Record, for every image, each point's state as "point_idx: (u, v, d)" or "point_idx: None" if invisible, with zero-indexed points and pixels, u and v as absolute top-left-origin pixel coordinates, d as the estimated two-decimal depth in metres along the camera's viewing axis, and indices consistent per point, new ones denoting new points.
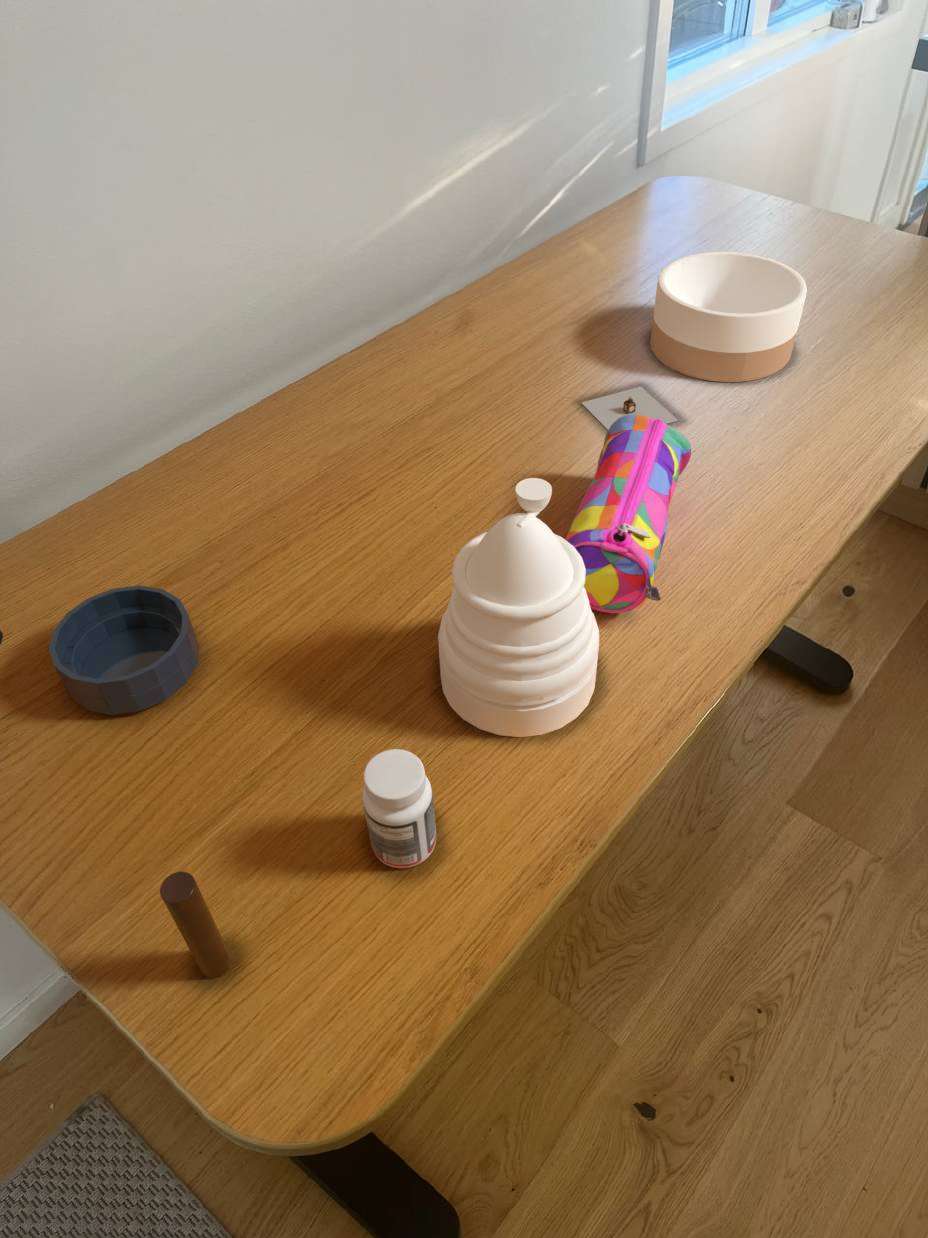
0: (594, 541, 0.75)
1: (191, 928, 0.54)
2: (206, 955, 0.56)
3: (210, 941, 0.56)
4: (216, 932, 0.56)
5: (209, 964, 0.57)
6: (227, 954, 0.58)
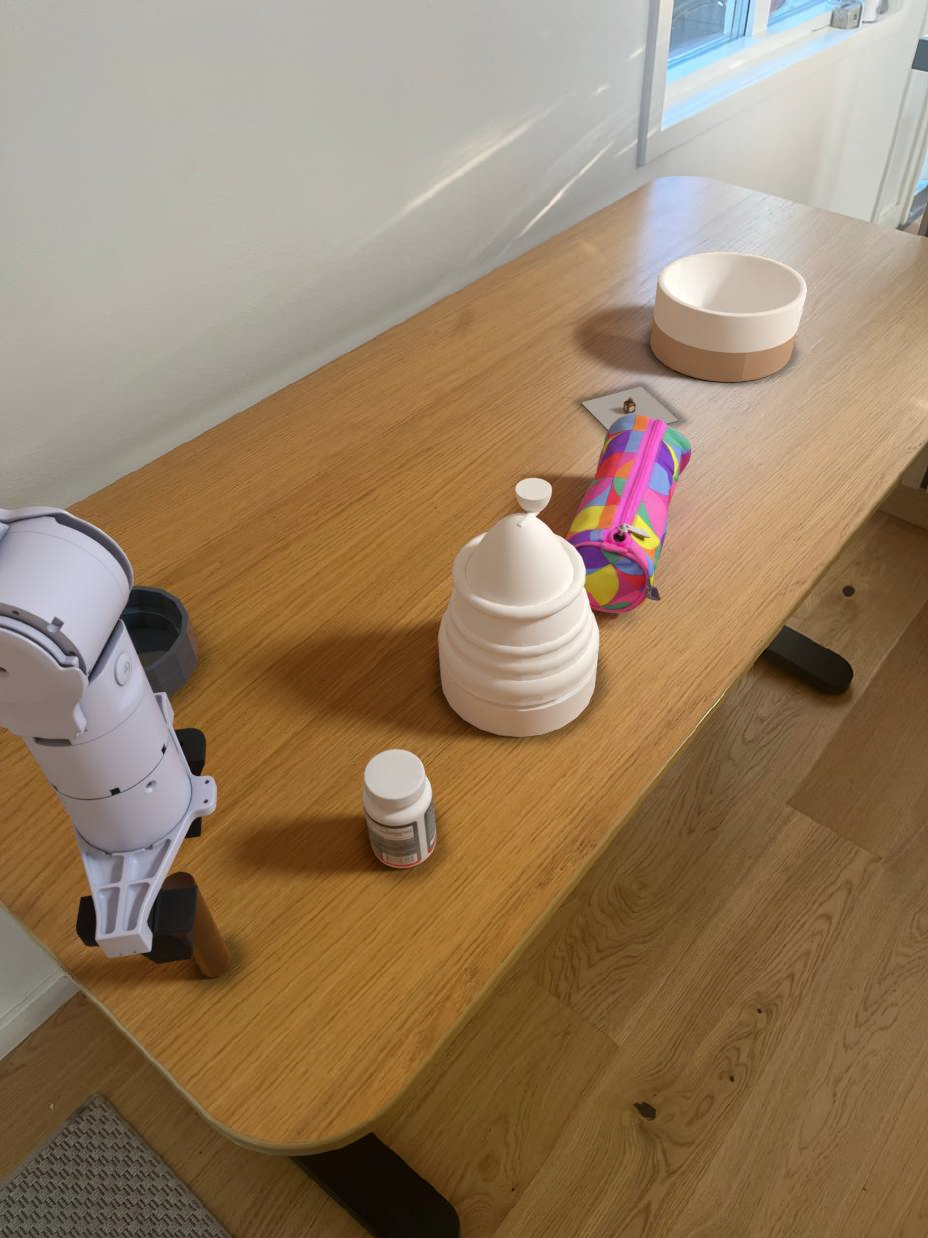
0: (594, 541, 0.75)
1: None
2: (206, 955, 0.56)
3: (210, 941, 0.56)
4: (216, 932, 0.56)
5: (209, 964, 0.57)
6: (227, 954, 0.58)
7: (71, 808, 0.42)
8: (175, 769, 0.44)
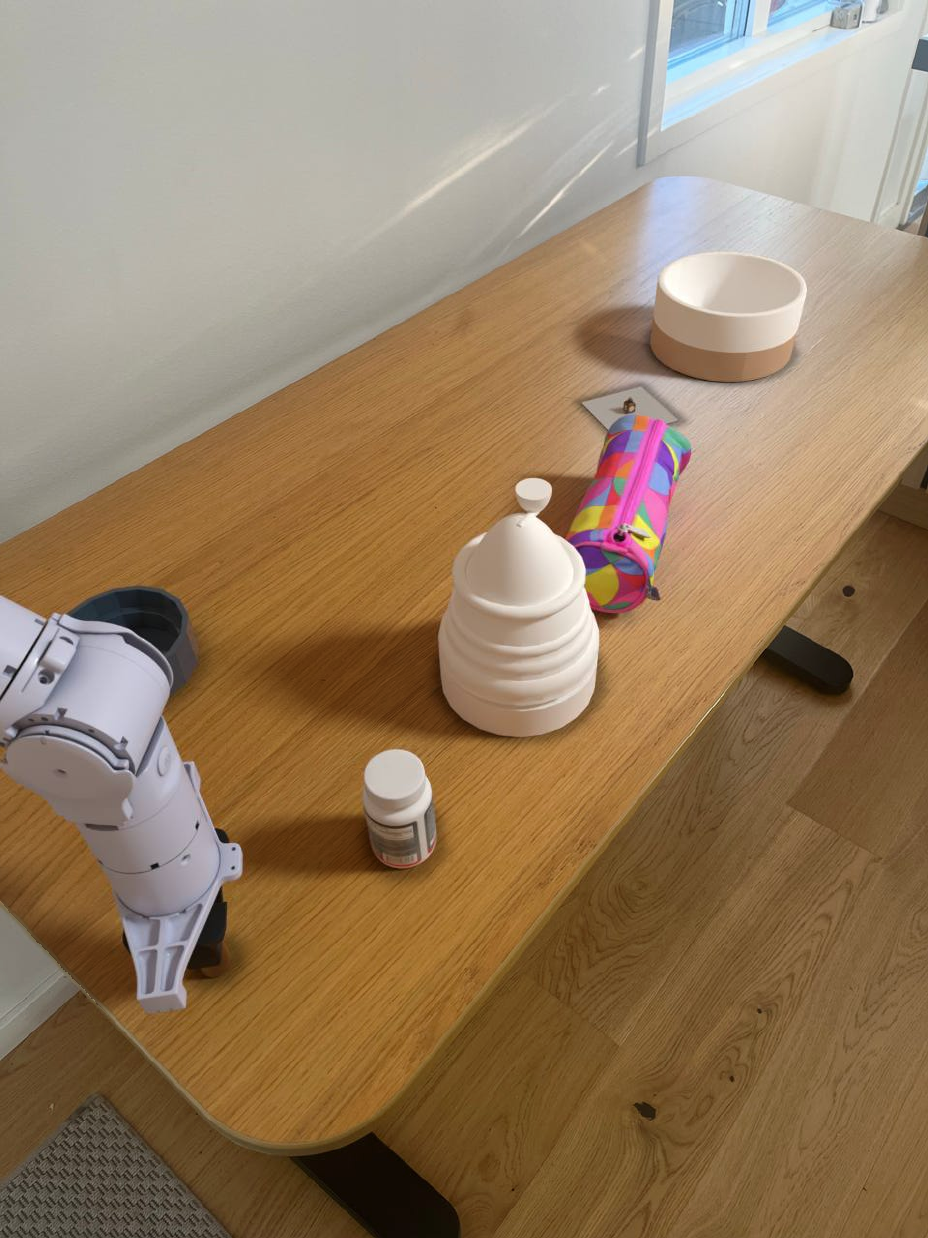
0: (594, 541, 0.75)
1: None
2: None
3: None
4: None
5: None
6: (227, 954, 0.58)
7: (114, 879, 0.47)
8: (206, 842, 0.49)
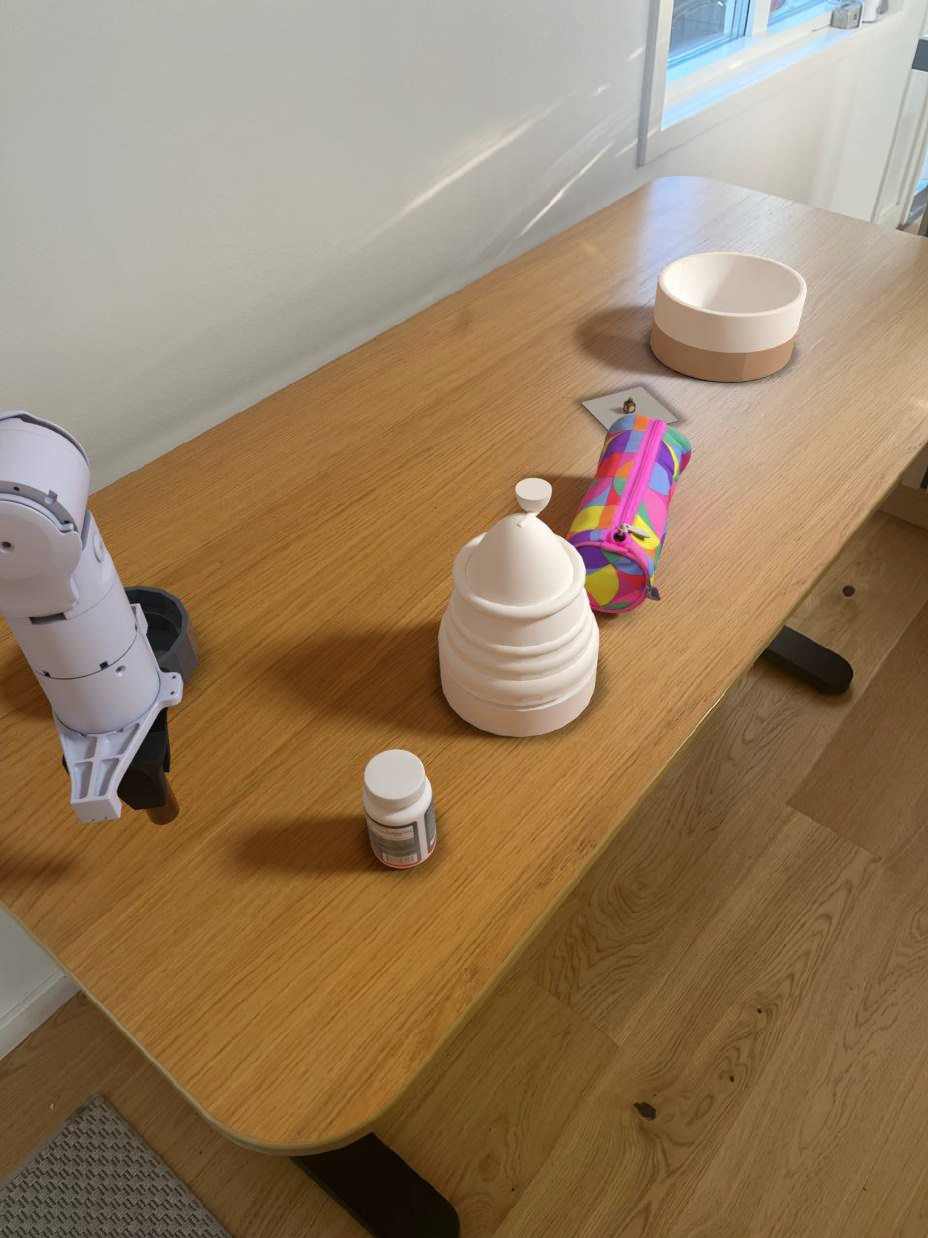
0: (594, 541, 0.75)
1: None
2: None
3: None
4: None
5: (155, 808, 0.58)
6: (175, 801, 0.59)
7: (49, 689, 0.47)
8: (143, 660, 0.49)
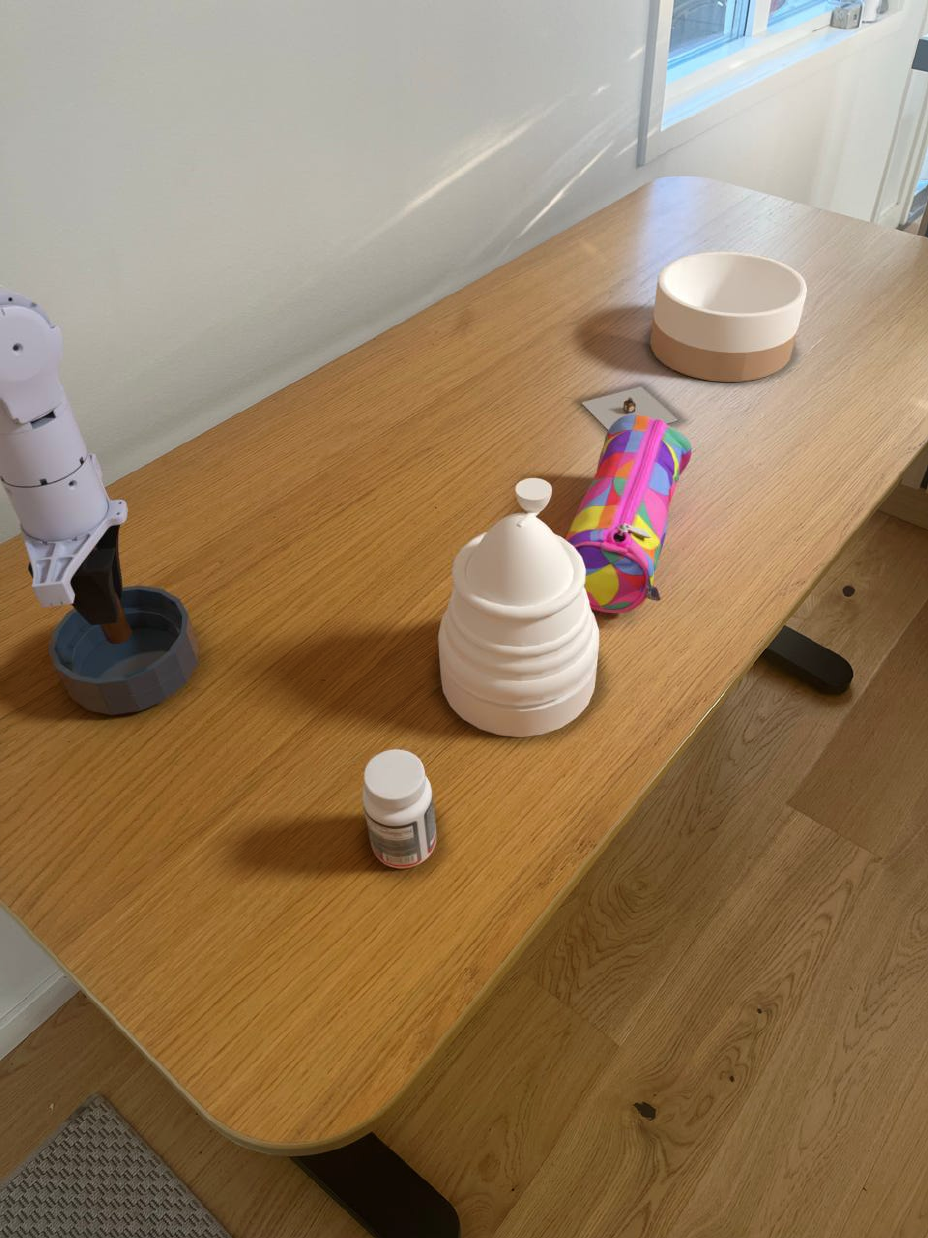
0: (594, 541, 0.75)
1: None
2: None
3: None
4: None
5: (110, 626, 0.69)
6: (127, 624, 0.71)
7: (16, 498, 0.59)
8: (92, 481, 0.61)
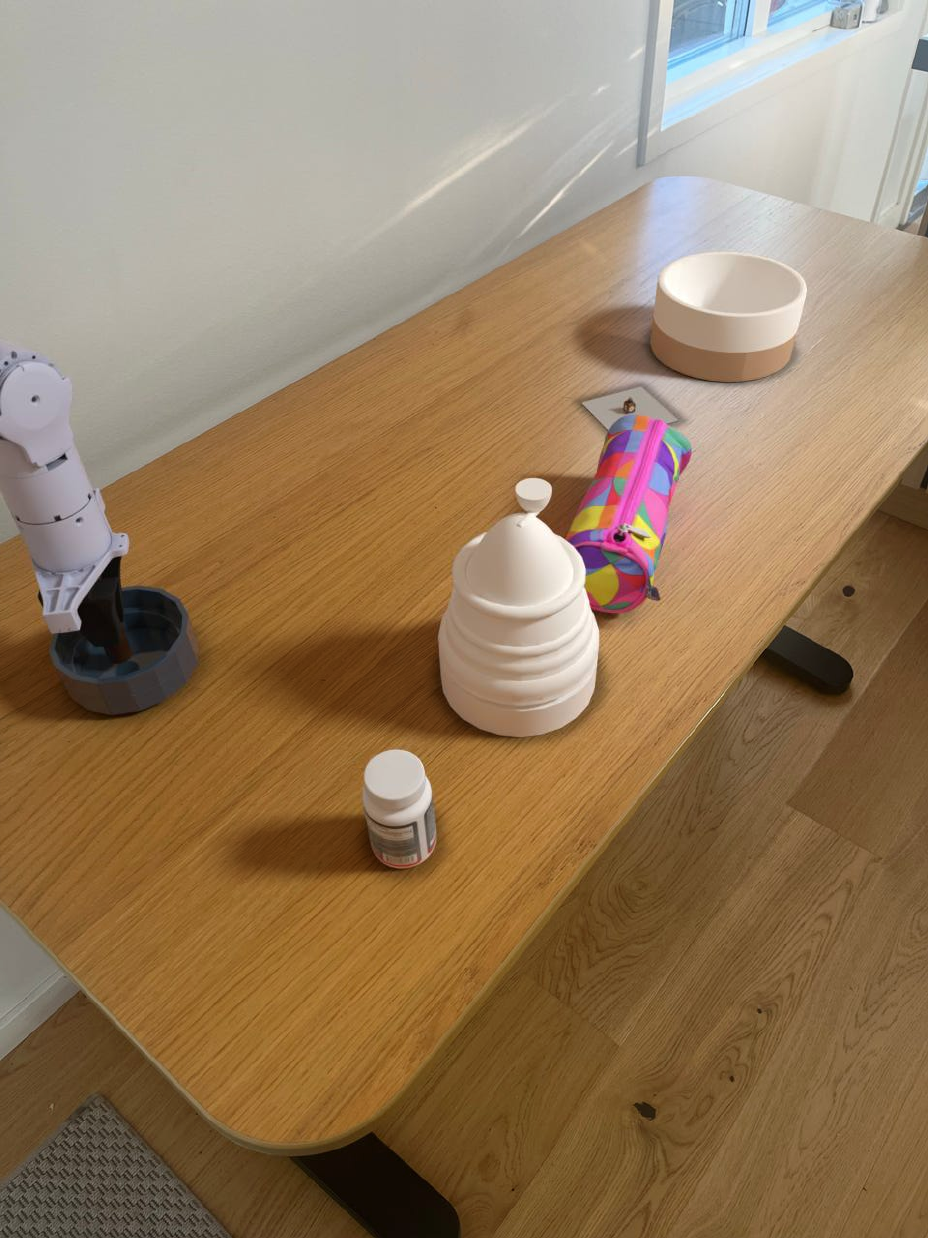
0: (594, 542, 0.75)
1: None
2: None
3: None
4: None
5: (112, 647, 0.75)
6: (128, 645, 0.76)
7: (27, 534, 0.64)
8: (97, 517, 0.66)
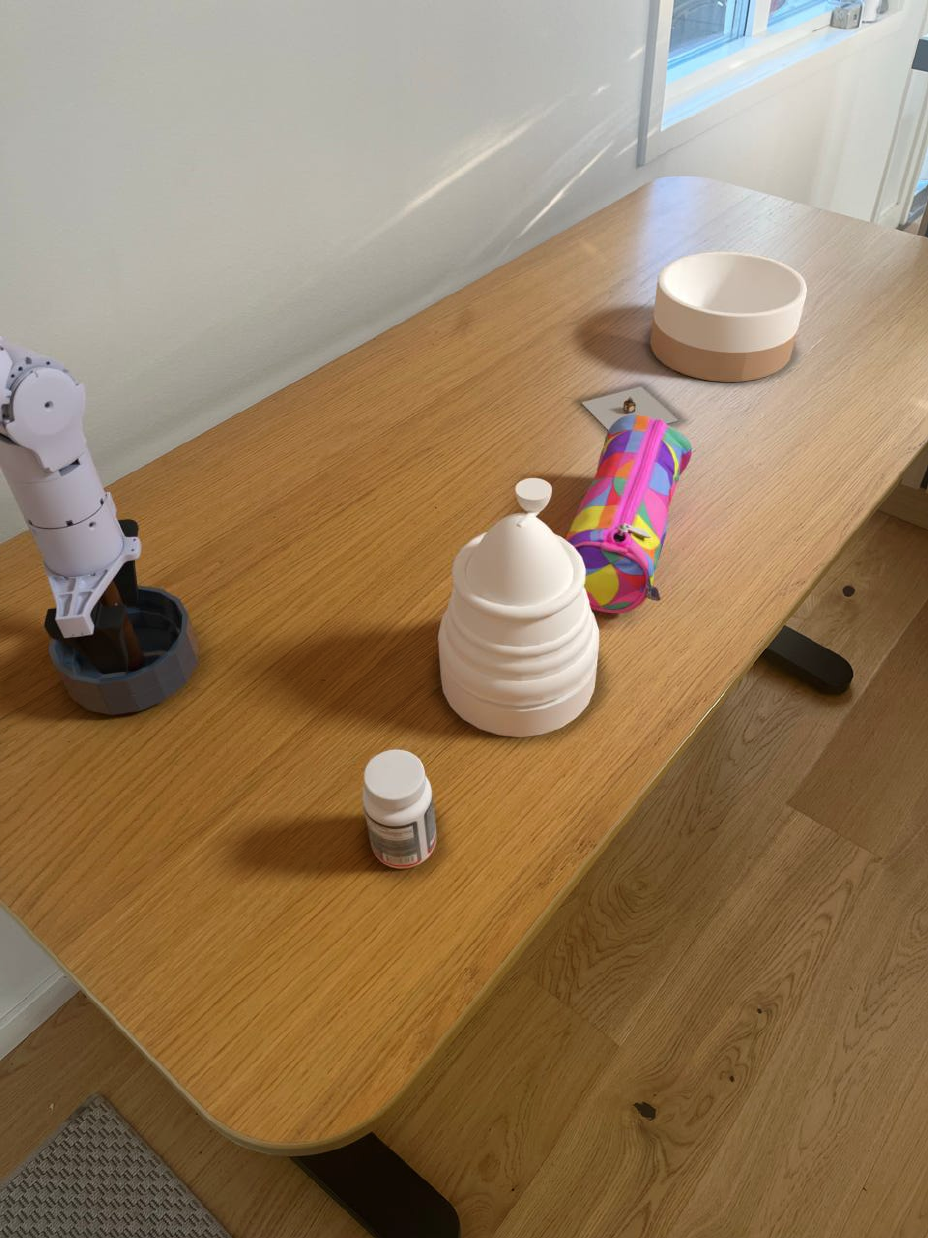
0: (594, 541, 0.75)
1: None
2: None
3: (125, 632, 0.74)
4: (130, 627, 0.74)
5: None
6: (141, 653, 0.77)
7: (40, 539, 0.64)
8: (110, 521, 0.66)
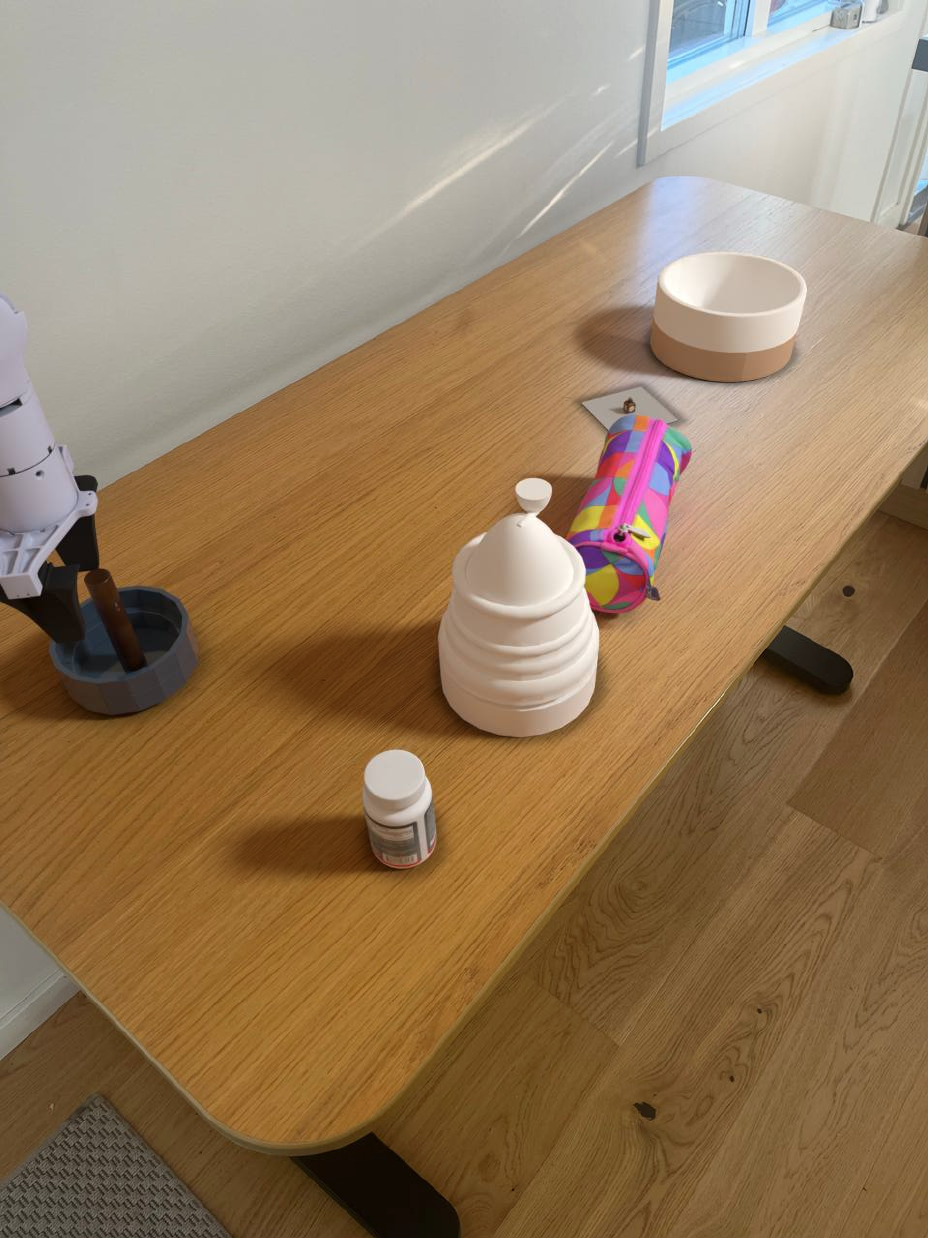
0: (594, 541, 0.75)
1: (109, 614, 0.72)
2: (123, 645, 0.74)
3: (125, 632, 0.74)
4: (130, 627, 0.74)
5: (126, 655, 0.75)
6: (141, 653, 0.77)
7: None
8: (60, 471, 0.60)
